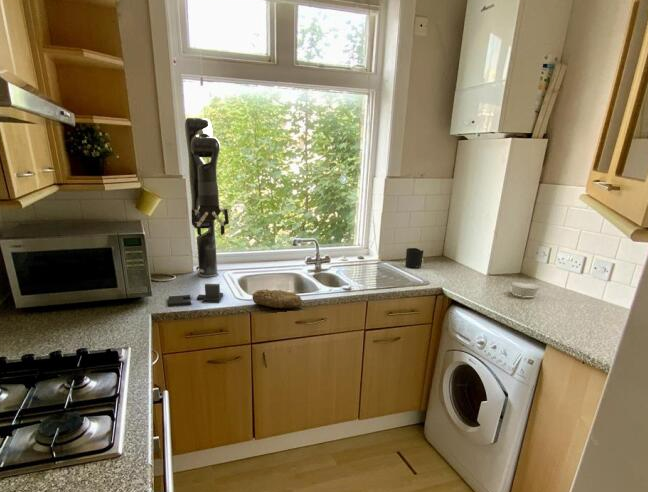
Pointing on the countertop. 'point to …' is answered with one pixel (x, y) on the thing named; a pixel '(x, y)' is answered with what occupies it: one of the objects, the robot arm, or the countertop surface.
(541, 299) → the countertop surface
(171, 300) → the base pad
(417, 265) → the pen holder
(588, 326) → the countertop surface
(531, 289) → the ramekin
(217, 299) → the joining pad
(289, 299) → the brown rounded lump
